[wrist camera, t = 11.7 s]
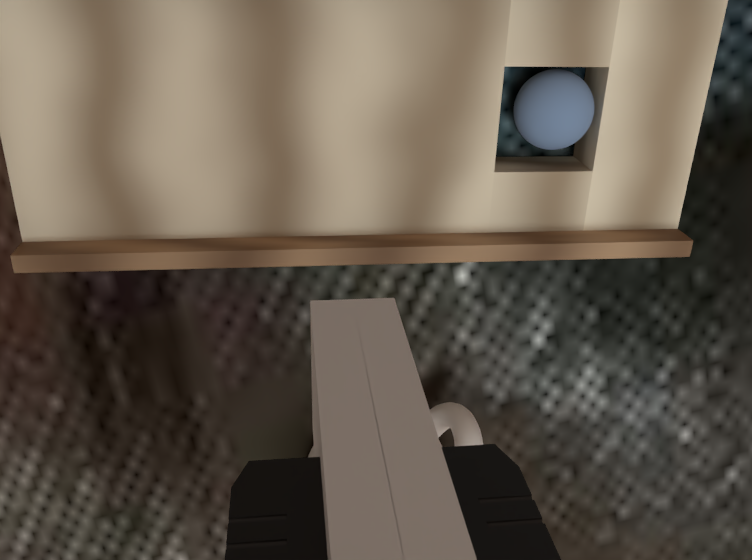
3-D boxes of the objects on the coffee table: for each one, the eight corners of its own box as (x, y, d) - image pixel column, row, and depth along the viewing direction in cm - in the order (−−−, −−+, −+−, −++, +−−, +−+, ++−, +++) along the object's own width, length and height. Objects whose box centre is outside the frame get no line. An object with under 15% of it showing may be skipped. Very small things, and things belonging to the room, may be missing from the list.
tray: (43, 237, 33) (14, 273, 30) (-11, -43, 28) (-55, -41, 25) (650, 225, 37) (689, 256, 33) (701, -28, 32) (754, -24, 28)
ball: (588, 142, 34) (514, 133, 34) (601, 66, 32) (523, 59, 33) (585, 164, 31) (504, 154, 31) (600, 81, 29) (513, 73, 30)
